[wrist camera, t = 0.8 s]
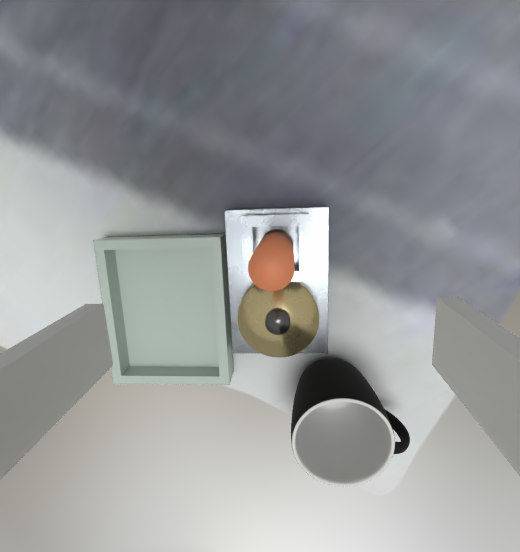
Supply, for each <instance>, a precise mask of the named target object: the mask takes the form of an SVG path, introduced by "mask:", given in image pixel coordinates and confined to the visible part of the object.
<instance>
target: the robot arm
mask: <svg viewBox="0 0 520 552" xmlns="http://www.w3.org/2000/svg"><path fill="white" fill-rule="evenodd" d="M432 365H433V366H434V368H435V369H436V370H437V371H438V373H439V374H440V375H441V376H442V378H443V379H444V380H445V382H446V383H447V384H448V385H449V387H450V388H451V389H452V390H453V392H454V393H455V394H456V395H457V397H458V398H459V399H460V401H461V402H462V403H463V404H464V406H465V407H466V408H467V409H468V411H469V412H470V413H471V414H472V416H473V417H474V418H475V420H476V421H477V422H478V423H479V425H480V426H481V427H482V428H483V430H484V431H485V432H486V434H487V435H488V436H489V437H490V439H491V440H492V441H493V442H494V444H495V445H496V446H497V447H498V449H499V450H500V451H501V453H503V455H504V456H505V458H506V459H507V460H508V461H509V463H510V464H511V465H512V466H513V468H514V469H515V470H516V471H517V473H518V474H519V475H520V338H519V337H517V336H516V335H514V334H513V333H511V332H510V331H508V330H506V329H505V328H504V327H502V326H501V325H499V324H498V323H496V322H495V321H493V320H492V319H490V318H489V317H487V316H486V315H484V314H483V313H481V312H480V311H478V310H477V309H475V308H474V307H472V306H471V305H469V304H468V303H466V302H465V301H463V300H462V299H460V298H459V297H446V298H437V305H436V318H435V331H434V344H433V357H432ZM112 366H113V360H112V354H111V347H110V341H109V335H108V329H107V322H106V316H105V310H104V304H85V305H84V306H82V307H80V308H78V309H77V310H75V311H73V312H72V313H70V314H68V315H66V316H65V317H63V318H61V319H59V320H58V321H56V322H54V323H53V324H51V325H49V326H47V327H46V328H44V329H42V330H41V331H39V332H37V333H35V334H34V335H32V336H30V337H29V338H27V339H25V340H23V341H22V342H20V343H18V344H17V345H15V346H13V347H11V348H10V349H8V350H6V351H5V352H3V353H1V354H0V480H1V479H2V478H3V477H4V476H5V475H6V474H7V472H8V471H10V469H11V468H12V467H14V465H15V464H16V463H17V462H18V461H19V460H20V459H21V458H22V457H23V456H24V455H25V454H26V453H27V452H28V451H29V450H30V449H31V448H32V447H33V446H34V445H35V444H36V443H37V442H38V441H39V440H40V439H41V438H42V437H43V436H44V435H45V434H46V433H47V432H48V431H49V430H50V429H51V428H52V427H53V426H54V425H55V424H56V423H57V422H58V421H59V420H60V419H61V418H62V416H64V415H65V414H66V413H67V411H68V410H70V409H71V408H72V407H73V406H74V404H76V403H77V401H78V400H79V399H80V398H81V397H82V396H83V395H84V394H85V393H86V392H87V391H88V390H89V389H90V388H91V387H92V386H93V385H94V384H95V383H96V382H97V381H98V380H99V379H100V378H101V377H102V376H103V375H104V374H105V373H106V372H107V371H108V370H109V369H110V368H111V367H112Z"/></svg>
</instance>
